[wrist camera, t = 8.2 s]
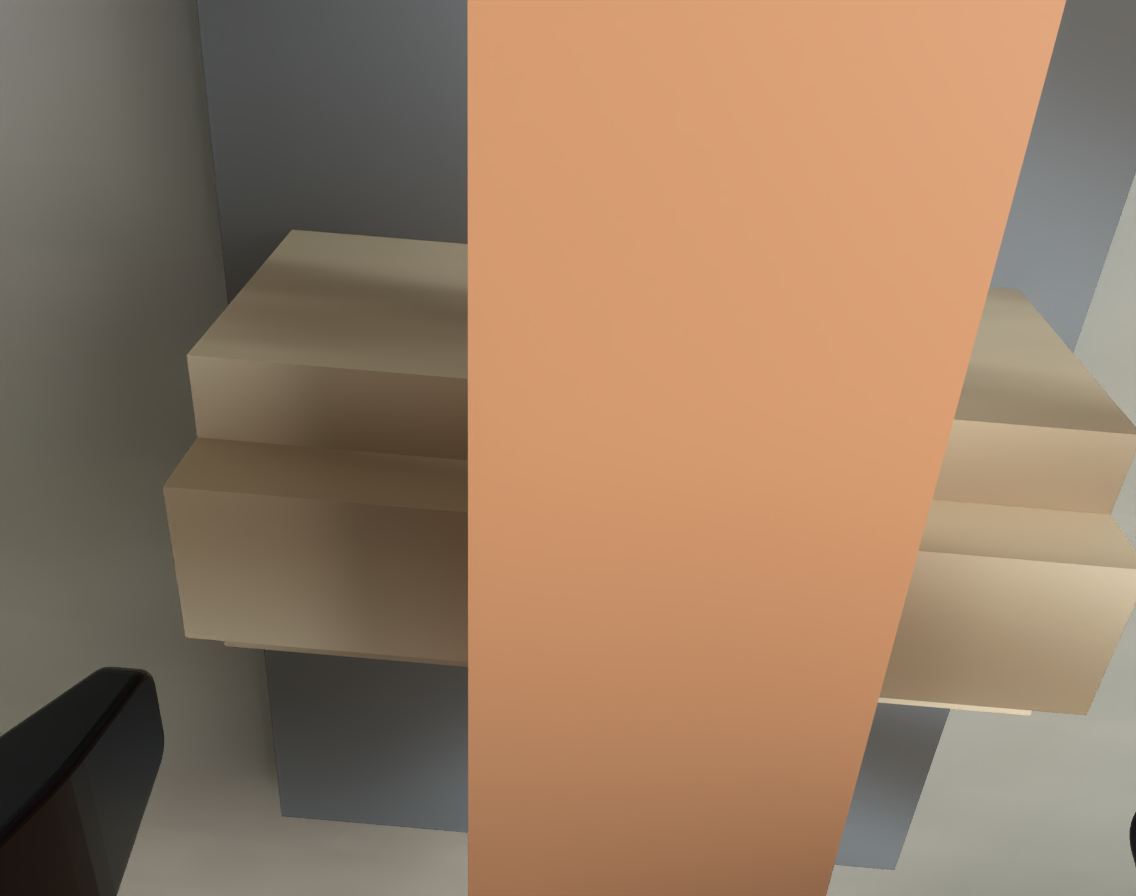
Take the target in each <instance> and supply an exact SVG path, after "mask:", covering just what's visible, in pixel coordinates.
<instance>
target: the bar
mask: <svg viewBox="0 0 1136 896" xmlns="http://www.w3.org/2000/svg"><path fill="white" fill-rule="evenodd" d="M1065 3H1066V0H468V896H826V893H827V890H828V886H829V882H830V879H831V875H832V871H833V867H834V864H835V860H836V856H837V853H838V849H839V845H840V841H841V838H842V834H843V830H844V826H845V823H846V819H847V815H848V812H849V808H850V804H851V800H852V797H853V793H854V789H855V785H856V782H857V778H858V774H859V771H860V767H861V763H862V759H863V756H864V752H865V748H866V745H867V741H868V737H869V733H870V730H871V726H872V722H873V718H874V715H875V711H876V707H877V704H878V700H879V696H880V692H881V689H882V685H883V681H884V677H885V674H886V670H887V666H888V663H889V659H890V655H891V651H892V648H893V644H894V640H895V637H896V633H897V629H898V625H899V622H900V618H901V614H902V610H903V607H904V603H905V599H906V596H907V592H908V588H909V584H910V581H911V577H912V573H913V569H914V566H915V562H916V558H917V555H918V551H919V547H920V543H921V540H922V536H923V532H924V529H925V525H926V521H927V517H928V514H929V510H930V506H931V502H932V499H933V495H934V491H935V488H936V484H937V480H938V476H939V473H940V469H941V465H942V462H943V458H944V454H945V450H946V447H947V443H948V439H949V435H950V432H951V428H952V424H953V421H954V417H955V413H956V409H957V406H958V402H959V398H960V394H961V391H962V387H963V383H964V380H965V376H966V372H967V368H968V365H969V361H970V357H971V354H972V350H973V346H974V342H975V339H976V335H977V331H978V327H979V324H980V320H981V316H982V313H983V309H984V305H985V301H986V298H987V294H988V290H989V286H990V283H991V279H992V275H993V272H994V268H995V264H996V260H997V257H998V253H999V249H1000V246H1001V242H1002V238H1003V234H1004V231H1005V227H1006V223H1007V219H1008V216H1009V212H1010V208H1011V205H1012V201H1013V197H1014V193H1015V190H1016V186H1017V182H1018V178H1019V175H1020V171H1021V167H1022V164H1023V160H1024V156H1025V152H1026V149H1027V145H1028V141H1029V138H1030V134H1031V130H1032V126H1033V123H1034V119H1035V115H1036V111H1037V108H1038V104H1039V100H1040V97H1041V93H1042V89H1043V85H1044V82H1045V78H1046V74H1047V70H1048V67H1049V63H1050V59H1051V56H1052V52H1053V48H1054V44H1055V41H1056V37H1057V33H1058V30H1059V26H1060V22H1061V18H1062V15H1063V11H1064V7H1065Z"/></svg>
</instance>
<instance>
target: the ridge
mask: <svg viewBox="0 0 1136 896" xmlns="http://www.w3.org/2000/svg"><path fill="white" fill-rule="evenodd" d="M196 1H197V10H198V20H199V30H200V39H201V49H202V58H203V68H204V77H205V87H206V97H207V106H208V116H209V125H210V135H211V144H212V154H213V163H214V173H215V183H216V192H217V202H218V211H219V221H220V230H221V240H222V249H223V259H224V269H225V278H226V288H227V297H228V306H227V308H226V309H225V310H224V311H223V312H222V313H221V315H220V316H219V317H218V318H217V319H216V321H215V322H214V323H213V324H212V325H211V327H210V328H209V329H208V330H207V331H206V333H205V334H204V335H203V336H202V337H201V338H200V340H199V341H198V342H197V343H196V344H195V346H194V347H193V348H192V349H191V350H190V352H189V353H188V354H187V363H188V370H189V378H190V386H191V394H192V401H193V409H194V417H195V424H196V432H197V438H196V440H195V441H194V443H193V444H192V445H191V447H190V448H189V450H188V451H187V453H186V454H185V455H184V457H183V458H182V460H181V461H180V462H179V464H178V465H177V467H176V468H175V469H174V471H173V472H172V474H171V475H170V476H169V478H168V479H167V481H166V482H165V483H164V485H163V486H162V488H163V494H164V501H165V507H166V514H167V520H168V527H169V533H170V540H171V546H172V553H173V560H174V566H175V573H176V579H177V586H178V592H179V599H180V605H181V612H182V618H183V625H184V631H185V638H196V639H208V640H219V641H224V646H231V647H243V648H254V649H264V651H265V661H266V670H267V680H268V689H269V699H270V708H271V718H272V728H273V737H274V747H275V756H276V766H277V775H278V785H279V794H280V804H281V814H282V816H286V817H297V818H308V819H320V820H331V821H342V822H354V823H365V824H377V825H388V826H399V827H411V828H422V829H434V830H445V831H456V832H468V0H196ZM1135 173H1136V0H1066V3H1065V7H1064V11H1063V15H1062V18H1061V22H1060V26H1059V30H1058V33H1057V37H1056V41H1055V44H1054V48H1053V52H1052V56H1051V59H1050V63H1049V67H1048V70H1047V74H1046V78H1045V82H1044V85H1043V89H1042V93H1041V97H1040V100H1039V104H1038V108H1037V111H1036V115H1035V119H1034V123H1033V126H1032V130H1031V134H1030V138H1029V141H1028V145H1027V149H1026V152H1025V156H1024V160H1023V164H1022V167H1021V171H1020V175H1019V178H1018V182H1017V186H1016V190H1015V193H1014V197H1013V201H1012V205H1011V208H1010V212H1009V216H1008V219H1007V223H1006V227H1005V231H1004V234H1003V238H1002V242H1001V246H1000V249H999V253H998V257H997V260H996V264H995V268H994V272H993V275H992V279H991V283H990V286H989V290H988V294H987V298H986V301H985V305H984V309H983V313H982V316H981V320H980V324H979V327H978V331H977V335H976V339H975V342H974V346H973V350H972V354H971V357H970V361H969V365H968V368H967V372H966V376H965V380H964V383H963V387H962V391H961V394H960V398H959V402H958V406H957V409H956V413H955V417H954V421H953V424H952V428H951V432H950V435H949V439H948V443H947V447H946V450H945V454H944V458H943V462H942V465H941V469H940V473H939V476H938V480H937V484H936V488H935V491H934V495H933V499H932V502H931V506H930V510H929V514H928V517H927V521H926V525H925V529H924V532H923V536H922V540H921V543H920V547H919V551H918V555H917V558H916V562H915V566H914V569H913V573H912V577H911V581H910V584H909V588H908V592H907V596H906V599H905V603H904V607H903V610H902V614H901V618H900V622H899V625H898V629H897V633H896V637H895V640H894V644H893V648H892V651H891V655H890V659H889V663H888V666H887V670H886V674H885V677H884V681H883V685H882V689H881V692H880V696H879V700H878V704H877V707H876V711H875V715H874V718H873V722H872V726H871V730H870V733H869V737H868V741H867V745H866V748H865V752H864V756H863V759H862V763H861V767H860V771H859V774H858V778H857V782H856V785H855V789H854V793H853V797H852V800H851V804H850V808H849V812H848V815H847V819H846V823H845V826H844V830H843V834H842V838H841V841H840V845H839V849H838V853H837V856H836V860H835V864H834V865H843V866H855V867H866V868H877V869H889V870H895V867H896V864H897V861H898V858H899V855H900V853H901V850H902V847H903V844H904V841H905V838H906V835H907V832H908V829H909V827H910V824H911V821H912V818H913V815H914V812H915V809H916V806H917V803H918V801H919V798H920V795H921V792H922V789H923V786H924V783H925V780H926V777H927V774H928V772H929V769H930V766H931V763H932V760H933V757H934V754H935V751H936V748H937V746H938V743H939V740H940V737H941V734H942V731H943V728H944V725H945V722H946V720H947V717H948V714H949V711H950V709H960V710H972V711H983V712H995V713H1006V714H1018V715H1031V712H1032V711H1041V712H1053V713H1065V714H1076V715H1087V712H1088V710H1089V708H1090V706H1091V703H1092V701H1093V699H1094V696H1095V694H1096V692H1097V690H1098V687H1099V685H1100V683H1101V680H1102V678H1103V676H1104V674H1105V671H1106V669H1107V667H1108V664H1109V662H1110V660H1111V658H1112V655H1113V653H1114V651H1115V648H1116V646H1117V644H1118V642H1119V639H1120V637H1121V635H1122V632H1123V630H1124V628H1125V626H1126V623H1127V621H1128V619H1129V617H1130V614H1131V612H1132V610H1133V607H1134V605H1135V603H1136V550H1135V549H1134V548H1133V546H1132V545H1131V543H1130V542H1129V540H1128V539H1127V537H1126V536H1125V535H1124V533H1123V532H1122V530H1121V529H1120V527H1119V526H1118V525H1117V523H1116V522H1115V520H1114V519H1113V517H1112V516H1111V512H1112V510H1113V507H1114V505H1115V502H1116V500H1117V497H1118V495H1119V492H1120V490H1121V487H1122V485H1123V482H1124V480H1125V477H1126V475H1127V472H1128V470H1129V467H1130V465H1131V462H1132V460H1133V457H1134V455H1135V452H1136V427H1135V426H1134V425H1133V424H1132V422H1131V421H1130V420H1129V419H1128V418H1127V416H1126V415H1125V414H1124V413H1123V412H1122V410H1121V409H1120V408H1119V407H1118V406H1117V405H1116V403H1115V402H1114V401H1113V400H1112V399H1111V397H1110V396H1109V395H1108V394H1107V393H1106V392H1105V390H1104V389H1103V388H1102V387H1101V386H1100V384H1099V383H1098V382H1097V381H1096V380H1095V378H1094V377H1093V376H1092V375H1091V374H1090V373H1089V371H1088V370H1087V369H1086V368H1085V367H1084V365H1083V364H1082V363H1081V362H1080V361H1079V359H1078V358H1077V357H1076V356H1075V355H1074V354H1073V352H1074V349H1075V346H1076V343H1077V341H1078V338H1079V335H1080V332H1081V329H1082V326H1083V323H1084V320H1085V317H1086V315H1087V312H1088V309H1089V306H1090V303H1091V300H1092V297H1093V294H1094V291H1095V289H1096V286H1097V283H1098V280H1099V277H1100V274H1101V271H1102V268H1103V265H1104V263H1105V260H1106V257H1107V254H1108V251H1109V248H1110V245H1111V242H1112V239H1113V236H1114V234H1115V231H1116V228H1117V225H1118V222H1119V219H1120V216H1121V213H1122V210H1123V208H1124V205H1125V202H1126V199H1127V196H1128V193H1129V190H1130V187H1131V184H1132V182H1133V179H1134V176H1135Z"/></svg>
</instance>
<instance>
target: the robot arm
mask: <svg viewBox="0 0 1136 896" xmlns="http://www.w3.org/2000/svg"><path fill="white" fill-rule="evenodd" d="M163 749H164V732H163V727H162V721H161V716H160V710H159V704H158V699H157V693H156V688H155V683H154V680H153V677H152V676H151V674H150V673H149V672H148V671H145V670H142V669H132V668H120V667H104V668H101V669H99V670H97V671H95V672H93V673H92V674H91V675H89V676H88V677H86V678H85V679H83V680H82V681H80V682H79V683H77V684H76V685H75V686H73V687H72V688H70V689H69V690H67V691H66V692H64V693H63V694H62V695H60V696H59V697H57V698H56V699H54V700H53V701H51V702H50V703H48V704H47V705H46V706H44V707H43V708H41V709H40V710H38V711H37V712H35V713H34V714H32V715H31V716H30V717H28V718H27V719H25V720H24V721H22V722H21V723H19V724H18V725H17V726H15V727H14V728H12V729H11V730H9V731H8V732H6V733H5V734H3V735H2V736H1V737H0V896H117V893H118V890H119V887H120V884H121V881H122V878H123V875H124V872H125V869H126V866H127V863H128V860H129V857H130V854H131V851H132V848H133V845H134V842H135V839H136V836H137V833H138V830H139V827H140V824H141V821H142V818H143V815H144V812H145V809H146V806H147V803H148V800H149V797H150V794H151V791H152V788H153V785H154V782H155V779H156V776H157V773H158V770H159V767H160V763H161V760H162V755H163ZM1130 846H1131V851H1132V855H1133V858H1134V862H1135V866H1136V812H1135V814H1134V816H1133V819H1132V822H1131V827H1130Z"/></svg>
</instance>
